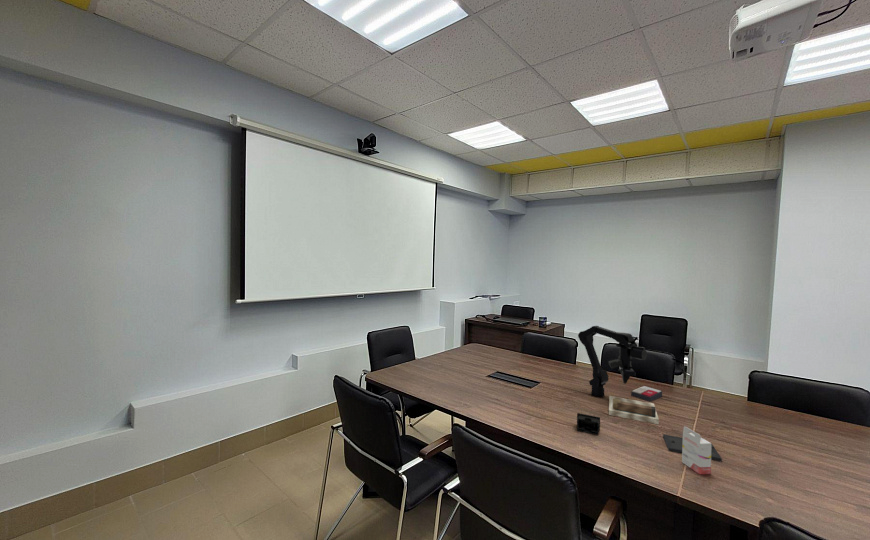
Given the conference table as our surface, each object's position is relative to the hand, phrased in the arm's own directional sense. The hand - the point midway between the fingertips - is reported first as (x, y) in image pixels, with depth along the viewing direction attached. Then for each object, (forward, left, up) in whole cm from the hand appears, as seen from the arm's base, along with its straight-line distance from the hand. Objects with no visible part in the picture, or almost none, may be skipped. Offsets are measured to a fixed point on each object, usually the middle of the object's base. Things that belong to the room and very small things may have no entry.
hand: (624, 383), depth 193 cm
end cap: (-16, -44, -12) cm, 48 cm away
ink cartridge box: (+23, -57, -12) cm, 63 cm away
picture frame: (+24, -40, -13) cm, 48 cm away
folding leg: (+4, -16, -9) cm, 19 cm away
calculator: (+12, +22, -13) cm, 28 cm away
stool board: (+3, -9, -12) cm, 15 cm away
